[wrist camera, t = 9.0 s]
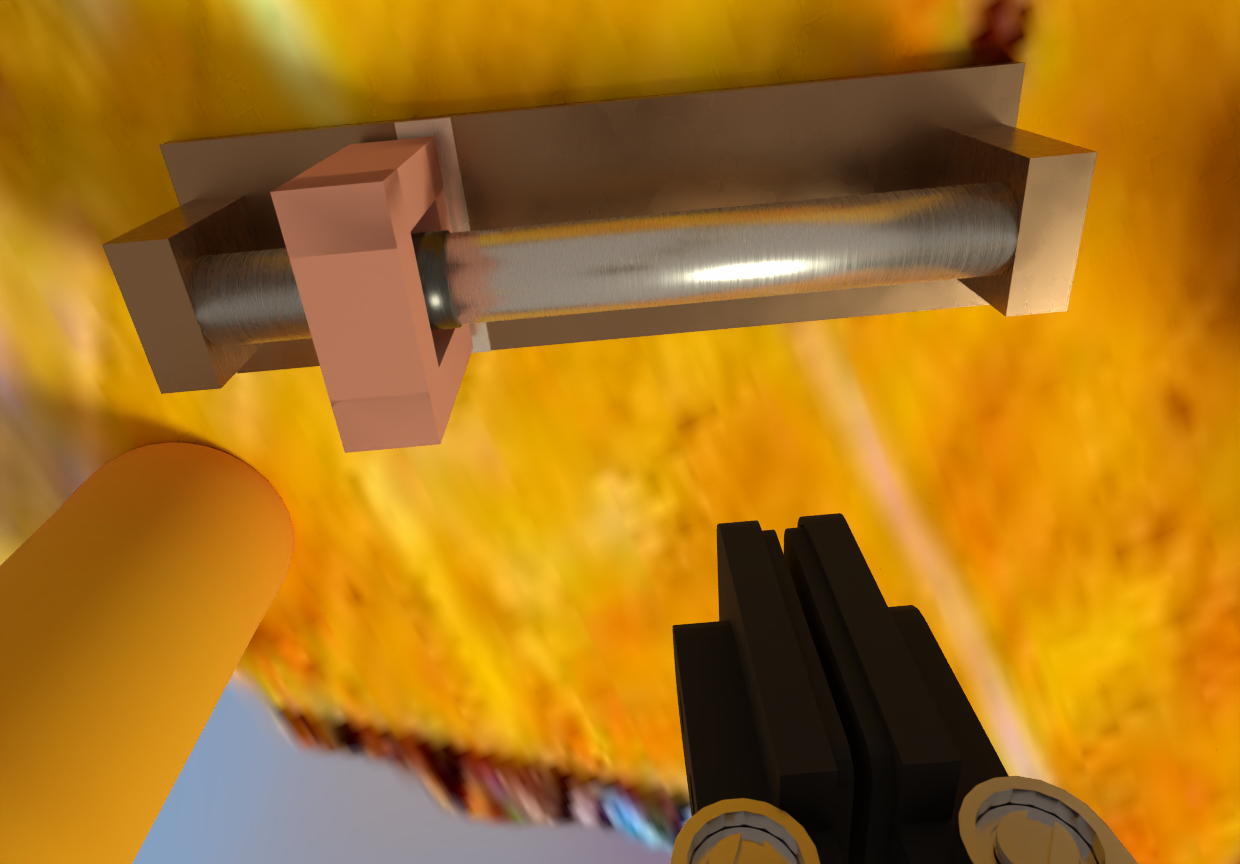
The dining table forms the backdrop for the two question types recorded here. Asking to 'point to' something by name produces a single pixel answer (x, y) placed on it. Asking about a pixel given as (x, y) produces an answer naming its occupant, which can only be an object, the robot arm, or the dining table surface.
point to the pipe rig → (640, 219)
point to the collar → (374, 290)
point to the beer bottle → (126, 643)
